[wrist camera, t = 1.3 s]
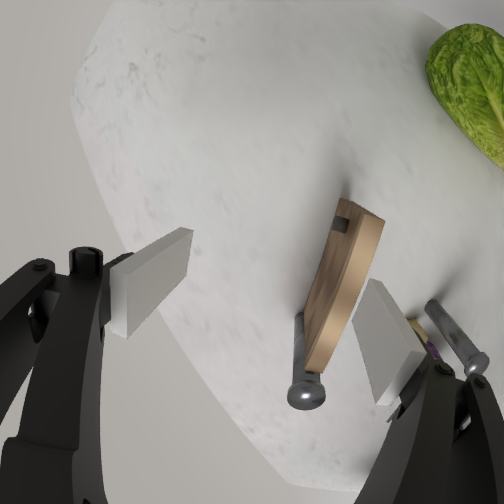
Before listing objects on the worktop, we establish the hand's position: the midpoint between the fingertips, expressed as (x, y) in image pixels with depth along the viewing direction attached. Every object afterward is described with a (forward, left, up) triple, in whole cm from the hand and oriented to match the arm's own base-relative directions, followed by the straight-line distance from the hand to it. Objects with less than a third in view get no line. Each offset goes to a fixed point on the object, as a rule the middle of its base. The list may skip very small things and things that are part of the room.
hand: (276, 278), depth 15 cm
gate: (-5, -4, -19) cm, 20 cm away
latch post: (-14, -21, -20) cm, 32 cm away
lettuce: (+13, -29, -20) cm, 38 cm away
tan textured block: (-17, -17, -20) cm, 31 cm away
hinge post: (-14, -1, -20) cm, 25 cm away
